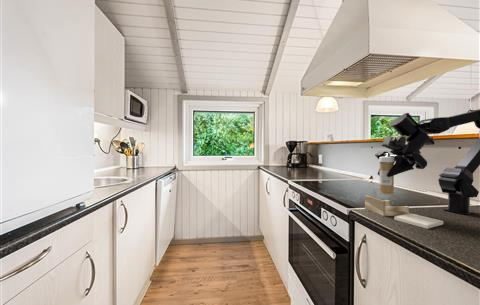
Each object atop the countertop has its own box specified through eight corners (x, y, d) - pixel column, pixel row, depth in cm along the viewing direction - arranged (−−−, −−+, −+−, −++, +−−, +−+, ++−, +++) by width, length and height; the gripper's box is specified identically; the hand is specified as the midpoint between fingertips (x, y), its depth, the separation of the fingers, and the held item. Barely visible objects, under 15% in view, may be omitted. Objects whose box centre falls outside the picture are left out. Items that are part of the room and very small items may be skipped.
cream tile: (410, 216, 76) (410, 213, 76) (443, 224, 68) (443, 221, 68) (394, 219, 72) (394, 216, 72) (427, 228, 64) (427, 225, 64)
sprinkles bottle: (396, 193, 81) (396, 156, 81) (390, 195, 78) (390, 157, 78) (382, 191, 85) (382, 156, 84) (376, 193, 82) (376, 156, 82)
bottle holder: (388, 208, 87) (388, 195, 87) (409, 215, 77) (409, 200, 77) (364, 208, 86) (365, 195, 86) (383, 215, 76) (383, 201, 76)
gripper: (379, 131, 91) (353, 158, 90) (419, 127, 72) (386, 161, 72) (398, 150, 91) (372, 178, 91) (442, 151, 73) (409, 185, 72)
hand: (382, 175), depth 81 cm, fingers closed on sprinkles bottle, 4 cm apart
